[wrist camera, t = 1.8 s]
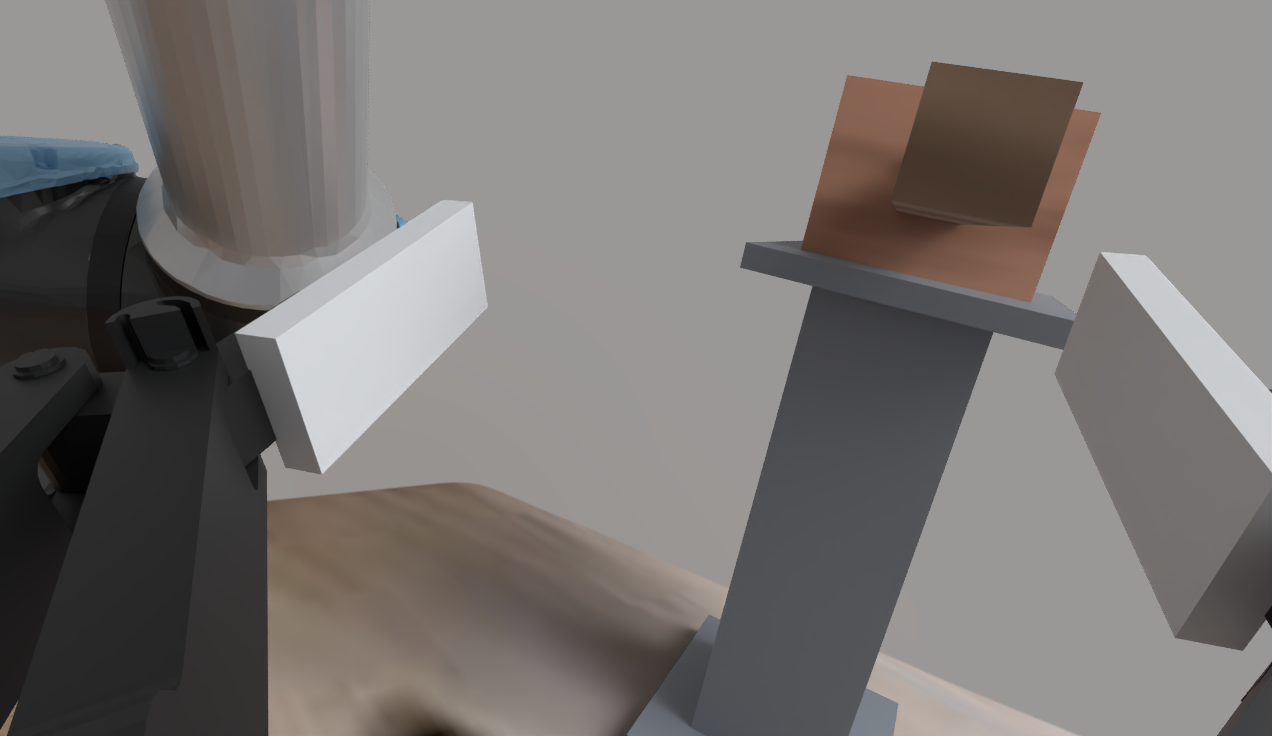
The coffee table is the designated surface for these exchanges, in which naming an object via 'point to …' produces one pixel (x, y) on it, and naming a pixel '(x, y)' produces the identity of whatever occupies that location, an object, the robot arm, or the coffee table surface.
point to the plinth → (839, 498)
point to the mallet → (951, 176)
